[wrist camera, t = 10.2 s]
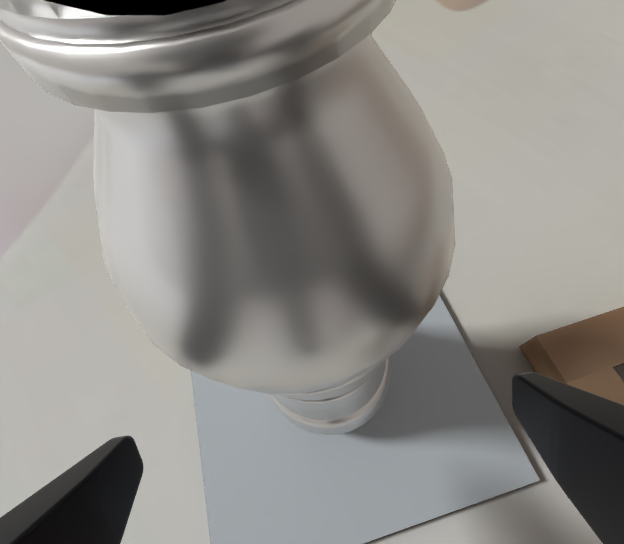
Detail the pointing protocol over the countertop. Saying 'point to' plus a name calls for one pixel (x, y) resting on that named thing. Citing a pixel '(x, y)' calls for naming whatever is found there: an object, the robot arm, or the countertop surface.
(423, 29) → the countertop surface
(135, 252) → the plastic bottle
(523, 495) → the countertop surface
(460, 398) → the mat
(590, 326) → the pocket frame
